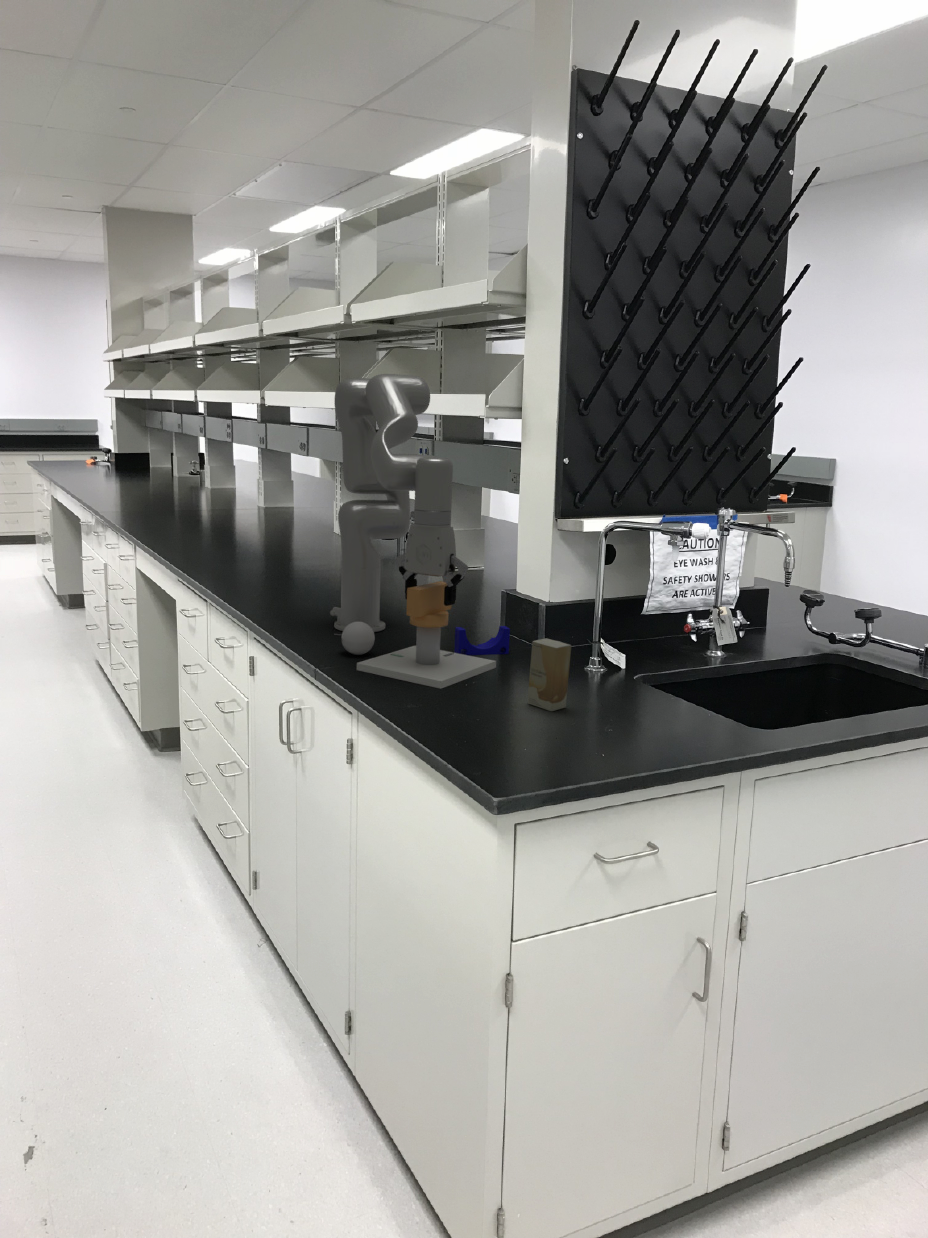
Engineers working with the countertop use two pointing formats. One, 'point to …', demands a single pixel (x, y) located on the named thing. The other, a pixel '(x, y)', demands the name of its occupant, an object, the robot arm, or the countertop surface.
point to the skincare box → (549, 674)
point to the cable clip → (490, 647)
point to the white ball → (358, 638)
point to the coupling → (427, 605)
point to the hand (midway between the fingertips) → (429, 601)
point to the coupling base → (427, 671)
